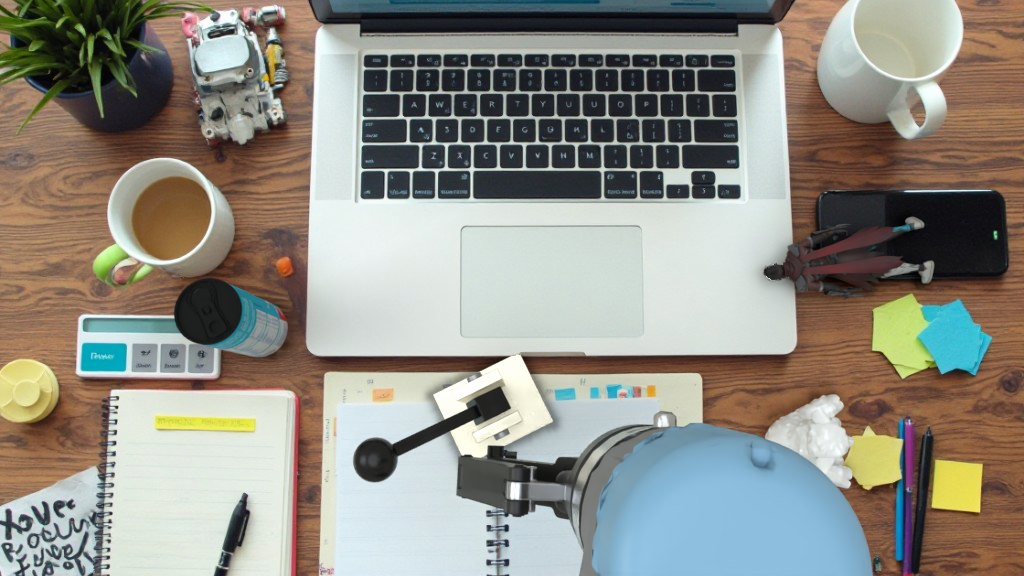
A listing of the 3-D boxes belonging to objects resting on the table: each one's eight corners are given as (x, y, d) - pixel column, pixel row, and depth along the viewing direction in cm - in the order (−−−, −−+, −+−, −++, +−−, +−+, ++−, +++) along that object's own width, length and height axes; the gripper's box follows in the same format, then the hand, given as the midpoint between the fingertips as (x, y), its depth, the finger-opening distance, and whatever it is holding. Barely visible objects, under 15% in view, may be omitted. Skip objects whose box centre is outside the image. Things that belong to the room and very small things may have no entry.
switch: (360, 492, 63) (369, 487, 60) (342, 452, 64) (350, 445, 60) (502, 422, 70) (517, 414, 67) (485, 386, 70) (499, 376, 67)
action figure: (904, 219, 84) (745, 244, 83) (934, 199, 78) (763, 226, 77) (926, 289, 82) (763, 315, 81) (958, 274, 76) (783, 303, 75)
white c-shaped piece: (466, 464, 80) (454, 475, 65) (434, 394, 81) (414, 389, 66) (553, 421, 80) (560, 422, 66) (519, 352, 82) (518, 338, 67)
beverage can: (282, 295, 83) (231, 269, 68) (297, 347, 82) (248, 332, 67) (229, 313, 83) (166, 289, 68) (243, 365, 82) (182, 353, 67)
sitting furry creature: (849, 487, 79) (906, 499, 67) (765, 493, 79) (807, 506, 67) (836, 394, 80) (890, 389, 69) (753, 399, 80) (793, 396, 69)
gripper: (921, 437, 36) (774, 431, 57) (389, 411, 36) (437, 414, 57) (928, 607, 35) (775, 536, 56) (376, 578, 35) (430, 519, 56)
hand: (603, 474), depth 56 cm, fingers open, 13 cm apart
